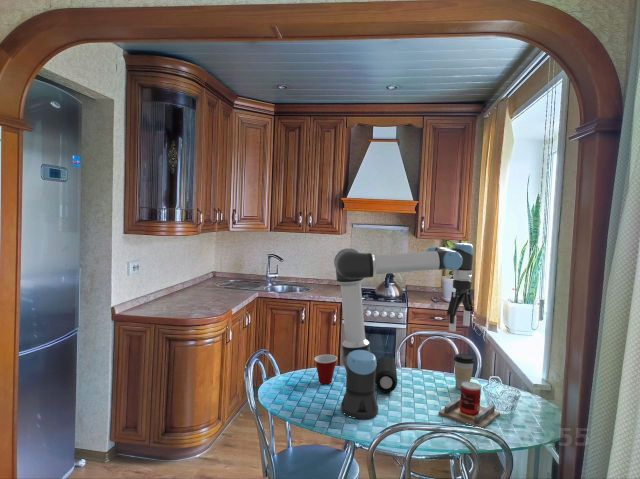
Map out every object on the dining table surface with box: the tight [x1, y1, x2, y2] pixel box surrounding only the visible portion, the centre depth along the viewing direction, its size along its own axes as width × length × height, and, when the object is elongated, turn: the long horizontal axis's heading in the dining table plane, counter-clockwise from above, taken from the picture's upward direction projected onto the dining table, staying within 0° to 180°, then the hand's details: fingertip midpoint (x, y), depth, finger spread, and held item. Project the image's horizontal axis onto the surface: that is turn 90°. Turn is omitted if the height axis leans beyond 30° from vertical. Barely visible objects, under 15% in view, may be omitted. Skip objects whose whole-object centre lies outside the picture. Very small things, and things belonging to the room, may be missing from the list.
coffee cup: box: [453, 353, 476, 391], centre depth 219 cm, size 9×9×15 cm
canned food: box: [459, 381, 482, 416], centre depth 190 cm, size 8×8×11 cm
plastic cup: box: [313, 353, 338, 385], centre depth 219 cm, size 11×11×12 cm
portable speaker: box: [375, 356, 398, 393], centre depth 221 cm, size 26×10×10 cm, turn 173°
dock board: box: [438, 396, 501, 429], centre depth 190 cm, size 18×18×4 cm
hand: (459, 328), depth 203 cm, fingers open, 13 cm apart
